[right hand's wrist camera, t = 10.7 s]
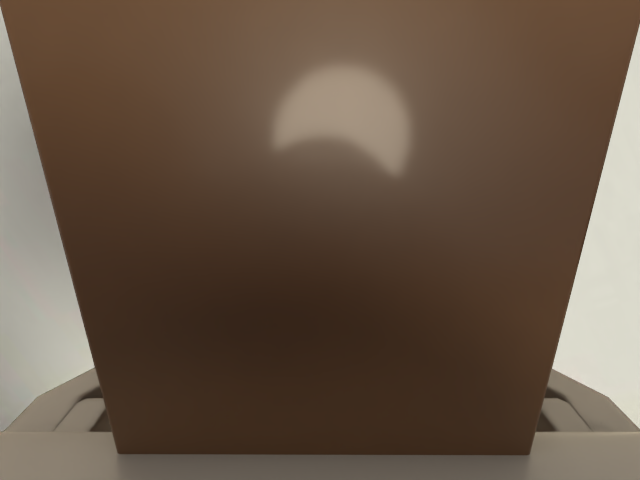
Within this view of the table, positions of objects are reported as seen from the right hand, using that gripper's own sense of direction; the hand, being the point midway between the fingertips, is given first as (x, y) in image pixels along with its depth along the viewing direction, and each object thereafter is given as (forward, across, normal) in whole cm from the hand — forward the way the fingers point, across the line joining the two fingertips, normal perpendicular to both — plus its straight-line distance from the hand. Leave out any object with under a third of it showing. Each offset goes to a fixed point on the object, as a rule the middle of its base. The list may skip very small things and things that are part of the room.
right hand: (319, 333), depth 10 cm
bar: (+3, 0, -10) cm, 10 cm away
